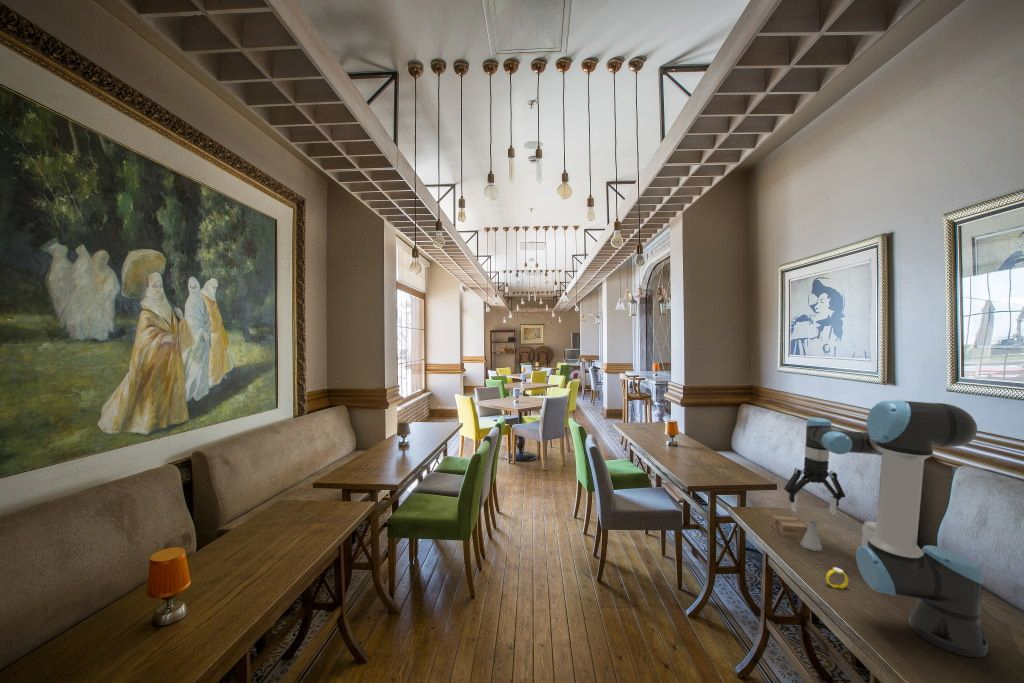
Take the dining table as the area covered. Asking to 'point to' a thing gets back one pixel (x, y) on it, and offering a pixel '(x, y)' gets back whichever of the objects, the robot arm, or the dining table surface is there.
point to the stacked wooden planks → (789, 527)
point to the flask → (811, 537)
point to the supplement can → (867, 531)
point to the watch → (838, 573)
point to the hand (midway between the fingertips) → (812, 512)
